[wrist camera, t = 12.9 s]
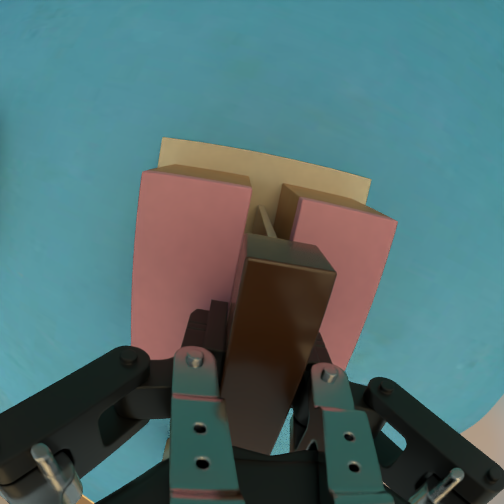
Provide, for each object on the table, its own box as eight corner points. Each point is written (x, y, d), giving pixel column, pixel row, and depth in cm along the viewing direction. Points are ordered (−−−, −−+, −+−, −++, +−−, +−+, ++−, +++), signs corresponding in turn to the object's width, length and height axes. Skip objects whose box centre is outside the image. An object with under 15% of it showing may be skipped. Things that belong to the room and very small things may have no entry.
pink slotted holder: (164, 137, 18) (124, 131, 11) (368, 178, 19) (424, 194, 12) (144, 335, 22) (116, 396, 15) (314, 360, 23) (334, 424, 16)
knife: (242, 193, 18) (245, 256, 8) (282, 200, 19) (339, 273, 8) (218, 324, 21) (204, 465, 10) (253, 329, 21) (263, 470, 10)
